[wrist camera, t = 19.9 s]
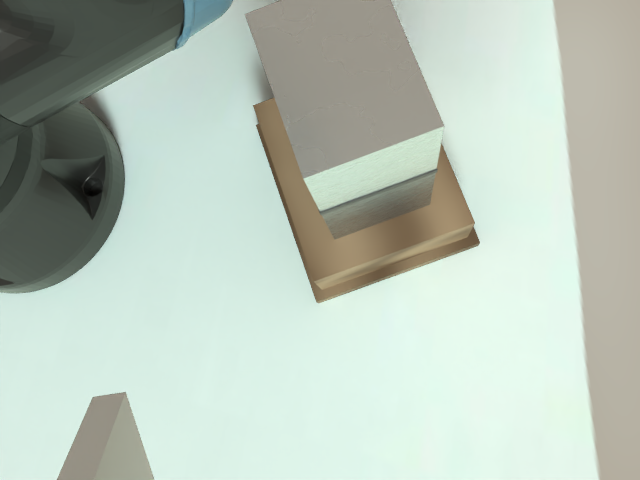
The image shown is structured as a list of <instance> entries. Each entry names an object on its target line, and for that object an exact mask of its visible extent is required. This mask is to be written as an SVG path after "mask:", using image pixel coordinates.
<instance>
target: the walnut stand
mask: <svg viewBox="0 0 640 480" xmlns="http://www.w3.org/2000/svg"><path fill="white" fill-rule="evenodd" d="M253 107H254V110H255V113H256V115H257V118H258V121H259V124H258V125H256V127H257V129H258V132H259V135H260V138H261V141H262V144H263V147H264V150H265V153H266V156H267V159H268V162H269V165H270V168H271V170H272V173H273V176H274V179H275V182H276V185H277V188H278V191H279V194H280V197H281V200H282V203H283V206H284V208H285V211H286V214H287V217H288V220H289V223H290V226H291V229H292V232H293V235H294V238H295V241H296V244H297V246H298V249H299V252H300V255H301V258H302V261H303V264H304V267H305V270H306V273H307V276H308V279H309V282H310V284H311V287H312V290H313V293H314V296H315V299H316V302H317V303H321V302H324V301H326V300H329V299H332V298H335V297H337V296H340V295H343V294H346V293H349V292H351V291H354V290H357V289H360V288H362V287H365V286H368V285H371V284H373V283H376V282H379V281H382V280H385V279H387V278H390V277H393V276H396V275H398V274H401V273H404V272H407V271H410V270H412V269H415V268H418V267H421V266H423V265H426V264H429V263H432V262H434V261H437V260H440V259H443V258H446V257H448V256H451V255H454V254H457V253H459V252H462V251H465V250H468V249H470V248H473V247H476V246H478V245H479V243H480V242H479V239H478V237H477V234H476V232H475V230H474V227H473V226H474V224H475V222H474V220H473V217H472V215H471V212H470V210H469V208H468V205H467V203H466V201H465V198H464V196H463V193H462V191H461V189H460V186H459V184H458V182H457V179H456V177H455V174H454V172H453V170H452V167H451V165H450V163H449V160H448V158H447V155H446V153H445V151H444V148H443V146H442V144H441V147H440V152H439V158H438V163H437V169H438V171H437V173H436V174H435V180H434V185H433V191H432V196H431V202H430V205H428V206H425V207H423V208H420V209H417V210H414V211H412V212H409V213H406V214H403V215H401V216H398V217H395V218H392V219H390V220H387V221H384V222H382V223H379V224H376V225H373V226H371V227H368V228H365V229H362V230H360V231H357V232H354V233H352V234H349V235H346V236H343V237H341V238H338V239H335V240H334V238H333V236H332V234H331V232H330V230H329V228H328V226H327V224H326V222H325V220H324V218H323V216H322V215H320V213H319V210H318V207H317V205H316V203H315V201H314V199H313V197H312V195H311V193H310V191H309V189H308V187H307V185H306V183H305V181H304V179H303V177H302V174H301V171H300V168H299V166H298V163H297V160H296V157H295V154H294V151H293V149H292V146H291V143H290V140H289V137H288V135H287V132H286V129H285V126H284V123H283V120H282V118H281V115H280V112H279V109H278V106H277V104H276V101H275V98H272V99H269V100H266V101H264V102H261V103H258V104H256V105H253Z"/></svg>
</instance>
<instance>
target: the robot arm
mask: <svg viewBox="0 0 640 480" xmlns="http://www.w3.org/2000/svg"><path fill="white" fill-rule="evenodd" d="M232 1H233V0H0V292H3V293H26V292H33V291H37V290H41V289H44V288H47V287H50V286H53V285H55V284H57V283H59V282H61V281H63V280H65V279H67V278H68V277H70V276H71V275H73V274H74V273H76V272H77V271H78V270H80V269H81V268H82V267H83V266H84V265H86V264H87V263H88V262H89V261H90V260H91V259H92V258H93V257H94V256H95V254H96V253H97V252H98V251H99V250H100V248H101V247H102V246H103V244H104V243H105V241H106V240H107V238H108V236H109V235H110V233H111V231H112V229H113V227H114V225H115V223H116V220H117V218H118V215H119V212H120V208H121V204H122V199H123V193H124V169H123V162H122V158H121V154H120V151H119V148H118V146H117V143H116V141H115V139H114V137H113V136H112V134H111V132H110V131H109V129H108V128H107V127H106V125H105V124H104V123H103V122H102V121H101V120H100V119H99V118H98V117H97V116H96V115H95V114H94V113H92V112H91V111H90V110H89V109H87V108H86V107H85V106H84V105H83V104H81V103H80V102H79V101H81V100H83V99H84V98H86V97H88V96H90V95H92V94H94V93H95V92H97V91H99V90H101V89H103V88H104V87H106V86H108V85H110V84H112V83H114V82H115V81H117V80H119V79H121V78H123V77H124V76H126V75H128V74H130V73H132V72H134V71H135V70H137V69H139V68H141V67H143V66H144V65H146V64H148V63H150V62H152V61H154V60H155V59H157V58H159V57H161V56H163V55H164V54H166V53H168V52H170V51H172V50H175V49H178V48H180V47H182V46H183V45H184V44H185V43H186V42H187V40H188V38H189V37H191V36H192V35H194V34H195V33H197V32H198V31H200V30H201V29H203V28H204V27H206V26H207V25H209V24H210V23H212V22H213V21H215V20H216V19H218V18H219V17H221V16H222V15H223V14H224V13H225V12H226V11H227V10H228V8H229V7H230V5H231V4H232ZM57 480H154V477H153V474H152V471H151V468H150V465H149V462H148V459H147V456H146V453H145V450H144V447H143V444H142V441H141V438H140V434H139V431H138V428H137V425H136V422H135V419H134V416H133V413H132V410H131V407H130V404H129V401H128V398H127V395H126V392H123V393H117V394H110V395H103V396H97V397H93V398H92V400H91V403H90V405H89V407H88V409H87V412H86V414H85V416H84V419H83V421H82V423H81V426H80V428H79V430H78V432H77V435H76V437H75V439H74V442H73V444H72V446H71V449H70V451H69V453H68V455H67V458H66V460H65V462H64V465H63V467H62V469H61V472H60V474H59V476H58V478H57Z"/></svg>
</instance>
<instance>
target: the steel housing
mask: <svg viewBox="0 0 640 480" xmlns="http://www.w3.org/2000/svg"><path fill="white" fill-rule="evenodd" d="M245 16H246V19H247V22H248V25H249V28H250V30H251V33H252V36H253V39H254V42H255V44H256V47H257V50H258V53H259V56H260V58H261V61H262V64H263V67H264V70H265V73H266V75H267V78H268V81H269V84H270V87H271V89H272V92H273V95H274V98H275V101H276V104H277V106H278V109H279V112H280V115H281V118H282V120H283V123H284V126H285V129H286V132H287V135H288V137H289V140H290V143H291V146H292V149H293V151H294V154H295V157H296V160H297V163H298V166H299V168H300V171H301V174H302V177H303V179H304V181H305V183H306V185H307V187H308V189H309V191H310V193H311V195H312V197H313V199H314V201H315V203H316V205H317V207H318V210H319V213H320V215H322V216H323V218H324V220H325V222H326V224H327V226H328V228H329V230H330V232H331V234H332V236H333V238H334V240H335V239H338V238H341V237H343V236H346V235H349V234H352V233H354V232H357V231H360V230H362V229H365V228H368V227H371V226H373V225H376V224H379V223H382V222H384V221H387V220H390V219H392V218H395V217H398V216H401V215H403V214H406V213H409V212H412V211H414V210H417V209H420V208H423V207H425V206H428V205H430V202H431V196H432V191H433V185H434V180H435V174H436V173H437V171H438V169H437V163H438V158H439V152H440V147H441V141H442V136H443V130H444V124H443V122H442V120H441V117H440V115H439V113H438V110H437V108H436V106H435V103H434V101H433V99H432V96H431V94H430V92H429V89H428V87H427V85H426V82H425V80H424V77H423V75H422V73H421V70H420V68H419V66H418V63H417V61H416V59H415V56H414V54H413V52H412V49H411V47H410V45H409V42H408V40H407V38H406V35H405V33H404V31H403V28H402V26H401V23H400V21H399V19H398V16H397V14H396V12H395V9H394V7H393V5H392V2H391V0H280V1H278V2H275V3H273V4H270V5H268V6H265V7H262V8H260V9H257V10H255V11H252V12H250V13H247V14H245Z"/></svg>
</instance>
